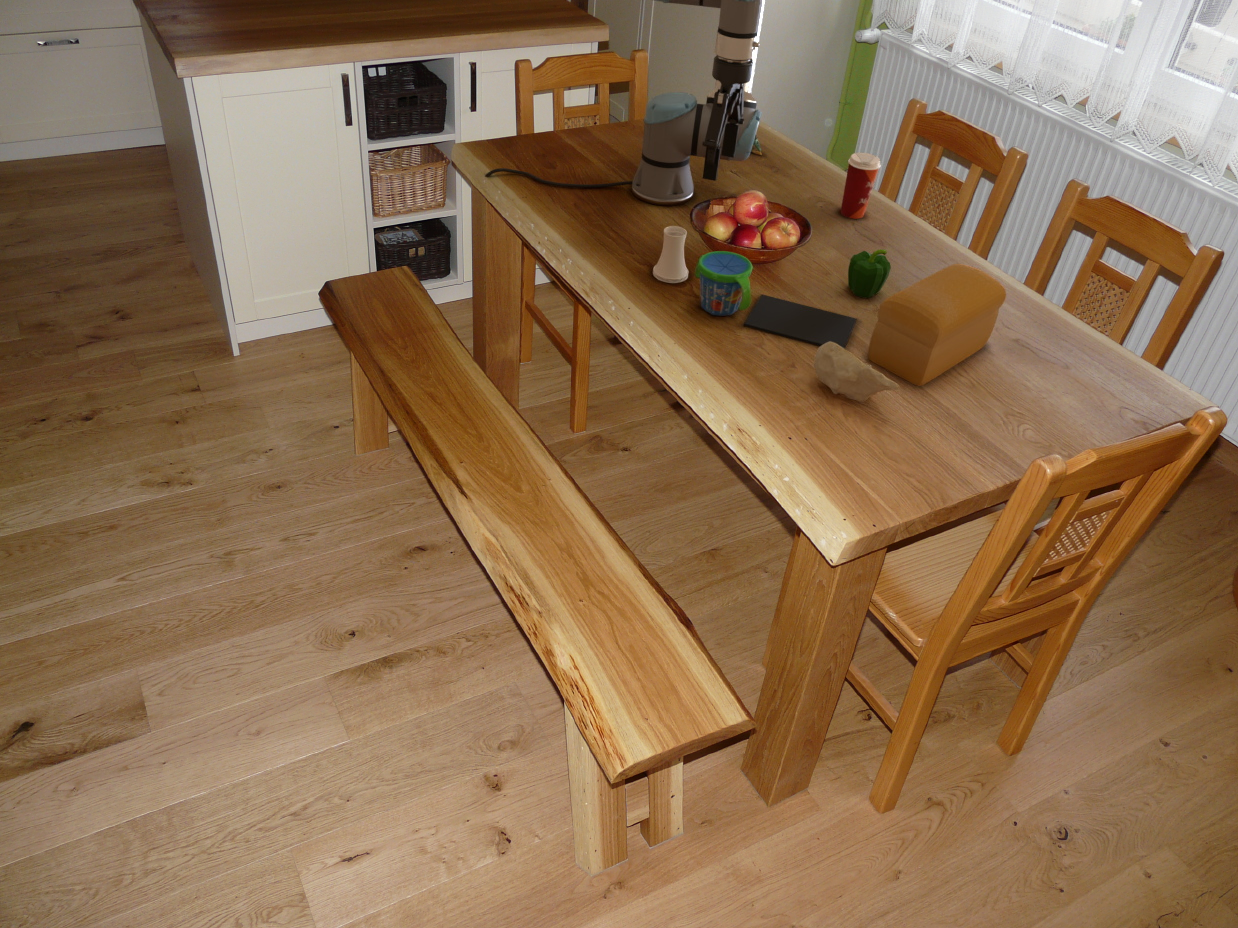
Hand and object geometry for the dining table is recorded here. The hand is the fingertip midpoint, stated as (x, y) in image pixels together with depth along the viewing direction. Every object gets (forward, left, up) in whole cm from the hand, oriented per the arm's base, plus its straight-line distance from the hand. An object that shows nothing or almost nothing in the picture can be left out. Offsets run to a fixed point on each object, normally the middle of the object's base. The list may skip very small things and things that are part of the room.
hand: (718, 167), depth 188 cm
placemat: (+25, -14, -22) cm, 36 cm away
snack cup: (+8, -16, -22) cm, 29 cm away
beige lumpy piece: (+40, -33, -22) cm, 56 cm away
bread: (+50, -12, -22) cm, 56 cm away
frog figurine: (-14, +70, -22) cm, 75 cm away
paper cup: (+24, +43, -22) cm, 54 cm away
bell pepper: (+34, +5, -22) cm, 41 cm away
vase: (-5, -8, -22) cm, 24 cm away
